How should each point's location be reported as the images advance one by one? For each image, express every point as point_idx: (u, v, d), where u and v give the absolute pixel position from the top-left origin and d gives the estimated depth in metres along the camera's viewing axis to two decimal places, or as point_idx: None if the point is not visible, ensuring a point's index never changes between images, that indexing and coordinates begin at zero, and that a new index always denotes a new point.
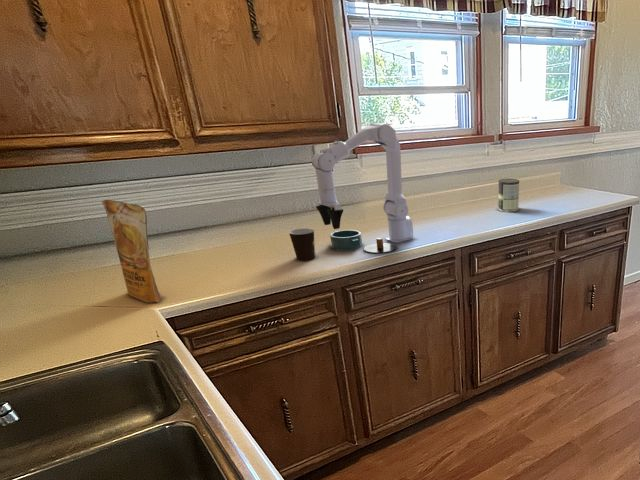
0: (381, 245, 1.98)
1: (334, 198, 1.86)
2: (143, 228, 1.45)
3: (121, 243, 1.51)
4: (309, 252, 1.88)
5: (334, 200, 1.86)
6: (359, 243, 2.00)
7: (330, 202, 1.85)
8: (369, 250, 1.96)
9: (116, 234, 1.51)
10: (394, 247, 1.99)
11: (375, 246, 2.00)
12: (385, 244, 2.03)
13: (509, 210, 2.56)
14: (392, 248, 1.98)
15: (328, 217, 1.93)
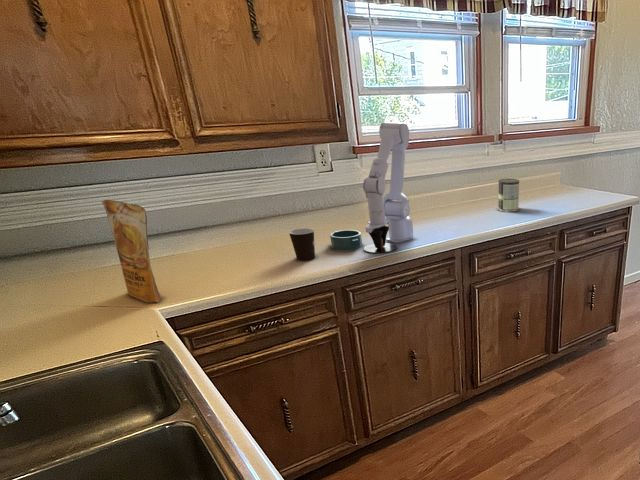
0: (381, 245, 1.98)
1: (377, 221, 1.91)
2: (143, 228, 1.45)
3: (121, 243, 1.51)
4: (309, 252, 1.88)
5: (377, 223, 1.92)
6: (359, 243, 2.00)
7: (372, 224, 1.92)
8: (369, 250, 1.96)
9: (116, 234, 1.51)
10: (394, 247, 1.99)
11: None
12: (385, 244, 2.03)
13: (509, 210, 2.56)
14: (392, 248, 1.98)
15: None
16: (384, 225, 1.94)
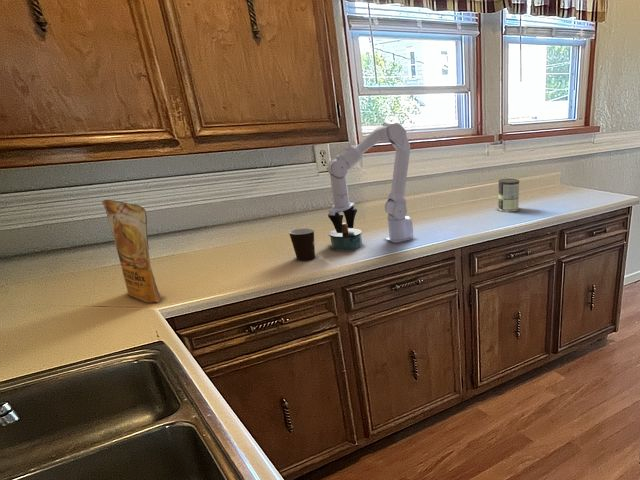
0: (346, 230, 1.99)
1: (340, 204, 1.93)
2: (143, 228, 1.45)
3: (121, 243, 1.51)
4: (309, 252, 1.88)
5: (340, 206, 1.93)
6: (359, 243, 2.00)
7: (336, 207, 1.93)
8: (334, 235, 1.97)
9: (116, 234, 1.51)
10: (359, 232, 2.00)
11: None
12: (351, 229, 2.04)
13: (509, 210, 2.56)
14: (357, 233, 1.99)
15: (351, 221, 2.02)
16: (348, 208, 1.95)
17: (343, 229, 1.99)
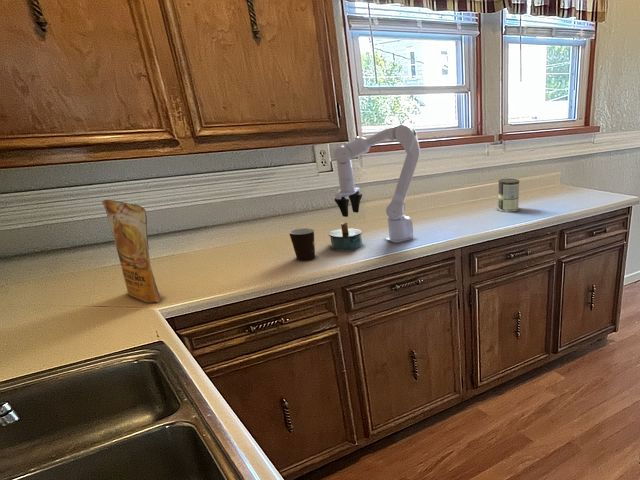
0: (346, 230, 1.99)
1: (346, 188, 2.00)
2: (143, 228, 1.45)
3: (121, 243, 1.51)
4: (309, 252, 1.88)
5: (346, 190, 2.00)
6: (359, 243, 2.00)
7: (342, 191, 2.01)
8: (334, 235, 1.97)
9: (116, 234, 1.51)
10: (359, 232, 2.00)
11: (340, 231, 2.02)
12: (351, 229, 2.04)
13: (509, 210, 2.56)
14: (357, 233, 1.99)
15: (356, 206, 2.09)
16: (354, 193, 2.02)
17: (343, 229, 1.99)
